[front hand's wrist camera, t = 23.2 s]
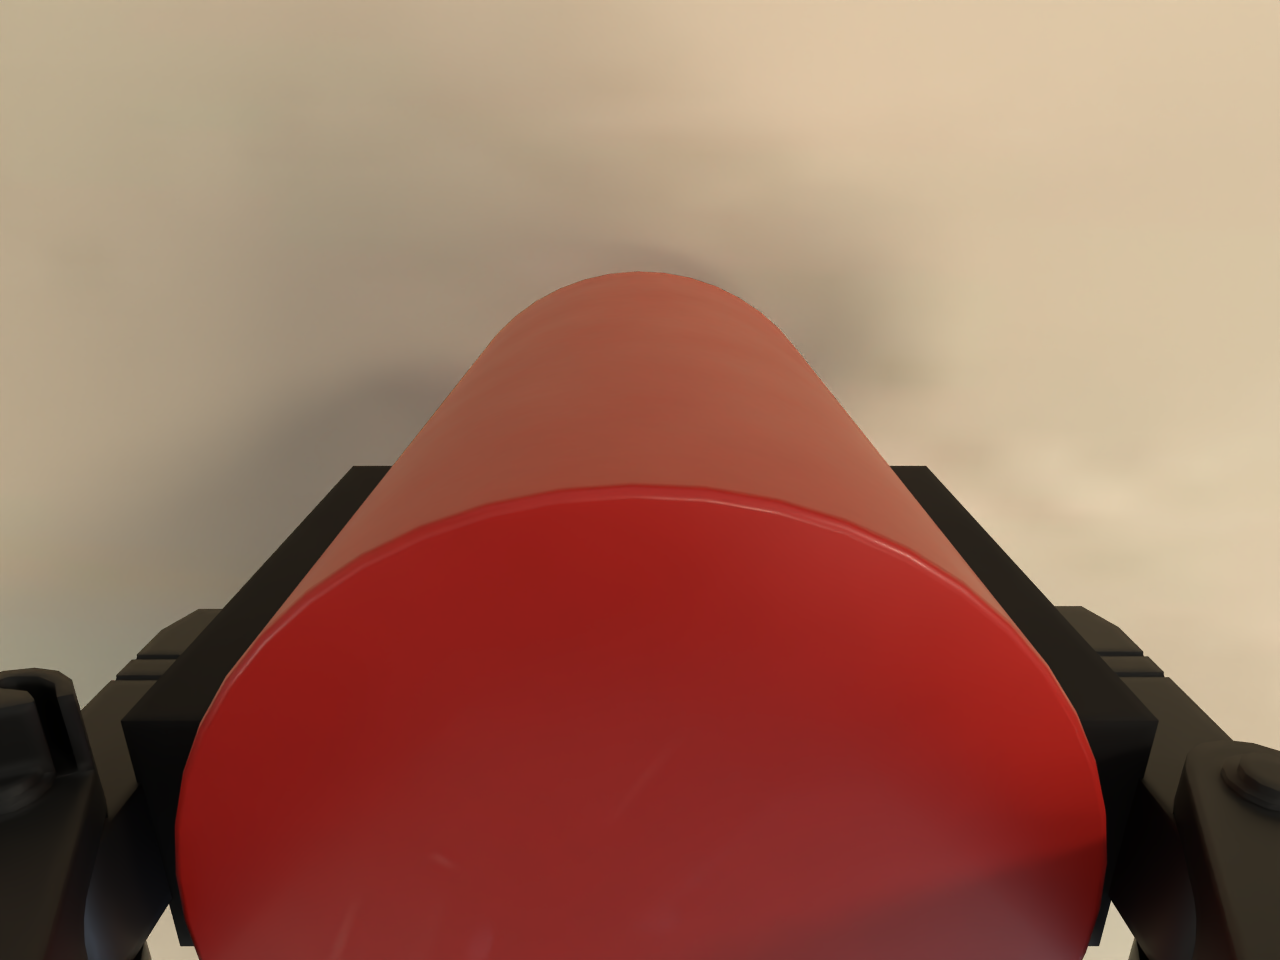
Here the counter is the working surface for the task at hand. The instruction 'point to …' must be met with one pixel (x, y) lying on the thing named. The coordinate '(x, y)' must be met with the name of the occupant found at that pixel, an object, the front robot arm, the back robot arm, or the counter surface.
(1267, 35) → the counter surface
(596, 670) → the tin
